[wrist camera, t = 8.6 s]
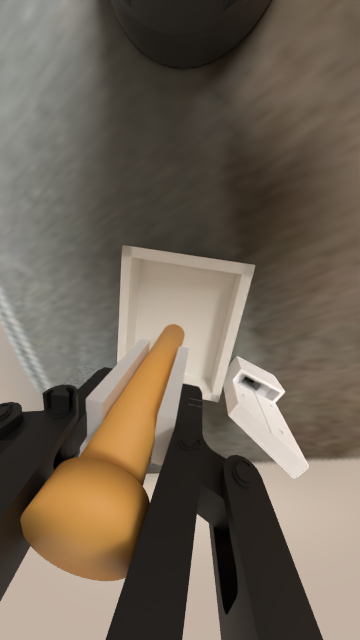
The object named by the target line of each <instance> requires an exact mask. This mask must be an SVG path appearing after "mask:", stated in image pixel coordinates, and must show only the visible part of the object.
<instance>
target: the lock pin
mask: <svg viewBox="0 0 360 640" xmlns="http://www.w3.org/2000/svg"><path fill="white" fill-rule="evenodd" d="M184 336H185V334H184V331H183V329H182V328H181V327H180V326H179V325H176V324H170V325H168V326H166V327H165V328H164V330H163V331H162V333H161V334H160V336H159V337H158V339H157V340H156V342H155V343H154V345H153V346H152V348H151V349H150V351H149V353H148V354H147V356H146V357H145V359H144V360H143V362H142V363H141V365H140V366H139V368H138V369H137V371H136V372H135V374H134V375H133V377H132V378H131V380H130V381H129V383H128V384H127V386H126V387H125V389H124V390H123V392H122V393H121V395H120V396H119V398H118V399H117V401H116V402H115V404H114V405H113V407H112V408H111V410H110V411H109V413H108V414H107V416H106V417H105V419H104V420H103V422H102V423H101V425H100V426H99V428H98V429H97V431H96V432H95V434H94V435H93V437H92V438H91V440H90V441H89V443H88V444H87V446H86V447H85V449H84V450H83V452H82V453H81V455H80V456H79V457H77V458H72V459H68V460H66V461H64V462H62V463H61V464H59V465H58V466H57V468H56V469H55V470H54V472H53V473H52V474H51V476H50V477H49V478H48V480H47V481H46V482H45V484H44V485H43V486H42V488H41V489H40V490H39V492H38V493H37V495H36V496H35V497H34V499H33V500H32V501H31V503H30V504H29V505H28V507H27V508H26V509H25V511H24V512H23V514H22V516H21V519H20V521H21V526H22V531H23V535H24V537H25V539H26V540H27V542H28V543H29V544H30V546H31V547H32V548H33V549H34V550H35V551H36V552H37V553H38V554H40V555H41V556H42V557H43V558H44V559H46V560H47V561H49V562H50V563H52V564H53V565H55V566H57V567H58V568H60V569H62V570H64V571H67V572H69V573H71V574H74V575H77V576H80V577H83V578H88V579H92V580H98V581H115V580H119V579H123V578H126V576H127V572H128V569H129V566H130V563H131V560H132V557H133V554H134V551H135V548H136V545H137V542H138V539H139V536H140V532H141V529H142V526H143V523H144V520H145V517H146V514H147V511H148V508H149V505H150V502H149V498H148V495H147V493H146V491H145V489H144V488H143V483H144V480H145V476H146V472H147V469H148V465H149V462H150V458H151V455H152V451H153V447H154V444H155V430H156V423H157V415H158V412H159V409H160V406H161V403H162V400H163V396H164V393H165V390H166V387H167V384H168V380H169V377H170V374H171V371H172V368H173V365H174V361H175V358H176V355H177V352H178V349H179V346H181V347H182V344H183V340H184Z"/></svg>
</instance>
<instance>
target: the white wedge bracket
mask: <svg viewBox="0 0 360 640" xmlns="http://www.w3.org/2000/svg"><path fill="white" fill-rule="evenodd" d="M245 376H246V377H248V378H250V379H252V380H253V381H254V382H253V383H251V382H249V381H247V380H245V379H244V378H245ZM223 387H224V393H225V399H226V405H227V411H228V416H229V417H230V418H231V419H232V420H233V421H235V422H236V423H237V424H238V425H239V426H240V427H241V428H242V429H243V430H244V431H245V432H246V433H247V434H248V435H249V436H250V437H251V438H252V439H253V440H254V441H255V442H256V443H257V444H258V445H259V446H260V447H261V448H262V449H263V450H264V451H265V452H266V453H267V454H268V455H269V456H270V457H272V458H273V459H274V460H275V461H276V462H277V463H278V464H279V465H280V466H281V467H282V468H283V469H284V470H285V471H286V472H287V473H288V474H289V475H290V476H291V477H292V478H293V479H296V478H297V477H298V476H300V475H301V474H302V473H303V472H304V471H306V470H307V469H308V468H309V465H308V463H307V462H306V460H305V458H304V456H303V454H302V452H301V450H300V448H299V447H298V445H297V443H296V441H295V439H294V437H293V435H292V433H291V432H290V430H289V428H288V426H287V424H286V422H285V420H284V418H283V417H282V415H281V413H280V411H279V409H278V407H277V405H276V401H277V400H278V399H279V398H280V397H281V396H282V395H283V394H284V393H285V391H284V389H283V388H282V386H281V385H280V383H279V382H278V380H277V379H276V377H275V376H274V375H272V374H270V373H268V372H266V371H265V370H263V369H261V368H259V367H257V366H255V365H253V364H251V363H250V362H248V361H246V360H244V359H242V358H240V357H238V356H236V357H235V358H234V359H233V361H232V362H231V364H230V365H229V366H228V369H227V373H226V376H225V380H224V384H223Z"/></svg>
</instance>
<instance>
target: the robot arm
mask: <svg viewBox="0 0 360 640" xmlns="http://www.w3.org/2000/svg"><path fill="white" fill-rule="evenodd" d="M270 1H271V0H110V2H111V4H112V7H113V10H114V12H115V14H116V17H117V19H118V21H119V23H120V25H121V26H122V28H123V30H124V31H125V33H126V34H127V36H128V37H129V39H130V40H131V41H132V42H133V43H134V45H135V46H136V47H137V48H138V49H139V50H140V51H142V52H143V53H144V54H145V55H147V56H148V57H149V58H151V59H153V60H154V61H156V62H158V63H161V64H163V65H166V66H170V67H177V68H189V67H195V66H200V65H203V64H206V63H208V62H211V61H213V60H215V59H217V58H219V57H220V56H222V55H224V54H225V53H226V52H228V51H229V50H231V49H232V48H233V47H234V46H235V45H236V44H238V43H239V42H240V41H241V40H242V39H243V38H244V37H245V36H246V35H247V33H248V32H249V31H250V30H251V29H252V28H253V26H254V25H255V24H256V23H257V21H258V20H259V18H260V17H261V16H262V14H263V12H264V11H265V9H266V8H267V6H268V4H269V3H270ZM149 345H150V340H145V339H140V340H139V341H138V342H137V343H136V344H135V345H134V346H133V348H132V349H131V350H130V351H129V352H128V353H127V354H126V355H125V356H124V357H123V358H122V360H121V361H120V362H119V363H118V364H117V365H116V366H115V367H114V368H113V369H111V368H106V367H104V368H102V369H100V370H98V371H96V372H95V373H94V374H93V375H92V376H91V378H89V379H88V380H87V381H86V383H84V384H83V385H82V386H81V387H80V388H79V389H77V388H76V387H75V386H72V385H59V386H55V387H53V388H50V389H48V390H47V391H45V392H44V393H43V402H44V410H43V411H30V412H22V407H21V405H20V404H18V403H14V402H8V403H2V404H0V601H1V599H2V597H3V595H4V593H5V592H6V590H7V588H8V586H9V584H10V582H11V580H12V579H13V577H14V575H15V573H16V571H17V569H18V568H19V566H20V564H21V562H22V560H23V558H24V557H25V555H26V553H27V551H28V549H29V547H30V544H29V543H28V542H27V540H26V539H25V537H24V535H23V531H22V526H21V521H20V519H21V516H22V514H23V512H24V511H25V509H26V508H27V507H28V505H29V504H30V503H31V501H32V500H33V499H34V497H35V496H36V495H37V493H38V492H39V490H40V489H41V488H42V486H43V485H44V484H45V482H46V481H47V480H48V478H49V477H50V476H51V474H52V473H53V472H54V470H55V469H56V468H57V466H58V465H59V464H61V463H62V462H64V461H66V460H68V459H72V458H77V457H79V454H80V446H81V445H82V443H83V442H84V440H85V439H86V446H87V444H88V443H89V441H90V440H91V438H92V437H93V435H94V434H95V432H96V431H97V429H98V428H99V426H100V425H101V423H102V422H103V420H104V419H105V417H106V416H107V414H108V413H109V411H110V410H111V408H112V407H113V405H114V404H115V402H116V401H117V399H118V398H119V396H120V395H121V393H122V392H123V390H124V389H125V387H126V386H127V384H128V383H129V381H130V380H131V378H132V377H133V375H134V374H135V372H136V371H137V369H138V368H139V366H140V365H141V363H142V362H143V360H144V359H145V357H146V356H147V354H148V353H149ZM188 351H189V348H186V347H181V346H179V349H178V352H177V355H176V358H175V361H174V365H173V368H172V371H171V374H170V377H169V380H168V384H167V387H166V390H165V393H164V396H163V400H162V403H161V406H160V409H159V412H158V415H157V423H156V430H155V444H154V447H153V451H152V458H151V463H153V464H157V465H161V466H162V468H161V471H160V474H159V477H158V480H157V483H156V486H155V489H154V492H153V495H152V499H151V502H150V505H149V508H148V511H147V514H146V517H145V520H144V523H143V526H142V529H141V532H140V536H139V539H138V542H137V545H136V548H135V551H134V554H133V557H132V560H131V563H130V566H129V569H128V572H127V576H126V579H125V582H124V585H123V588H122V591H121V594H120V597H119V600H118V603H117V606H116V609H115V613H114V616H113V619H112V622H111V625H110V628H109V631H108V634H107V637H106V640H182V635H183V628H184V619H185V611H186V602H187V593H188V585H189V576H190V567H191V558H192V550H193V541H194V533H195V524H196V516H197V514H198V515H200V516H201V517H202V518H204V519H205V520H206V521H207V522H208V523H209V528H210V538H211V547H212V556H213V565H214V575H215V585H216V594H217V603H218V613H219V621H220V631H221V640H323V638H322V635H321V633H320V630H319V628H318V625H317V622H316V620H315V617H314V615H313V612H312V609H311V606H310V604H309V601H308V599H307V596H306V593H305V591H304V588H303V585H302V583H301V580H300V578H299V575H298V572H297V570H296V567H295V564H294V562H293V559H292V556H291V554H290V551H289V548H288V546H287V543H286V541H285V538H284V535H283V533H282V530H281V528H280V525H279V522H278V519H277V517H276V514H275V512H274V509H273V506H272V504H271V501H270V499H269V496H268V493H267V491H266V488H265V485H264V483H263V480H262V477H261V476H260V474H259V472H258V470H257V468H256V467H255V466H254V465H253V464H252V463H251V462H250V461H249V460H247V459H246V458H244V457H242V456H238V455H232V456H230V457H228V458H227V459H225V458H224V457H222V456H220V455H219V454H217V453H216V452H214V451H213V450H211V448H210V447H209V446H208V445H207V444H206V442H205V441H204V438H203V434H202V392H201V390H200V388H199V387H198V386H194V385H189V384H184V383H183V378H184V373H185V367H186V362H187V356H188Z"/></svg>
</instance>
